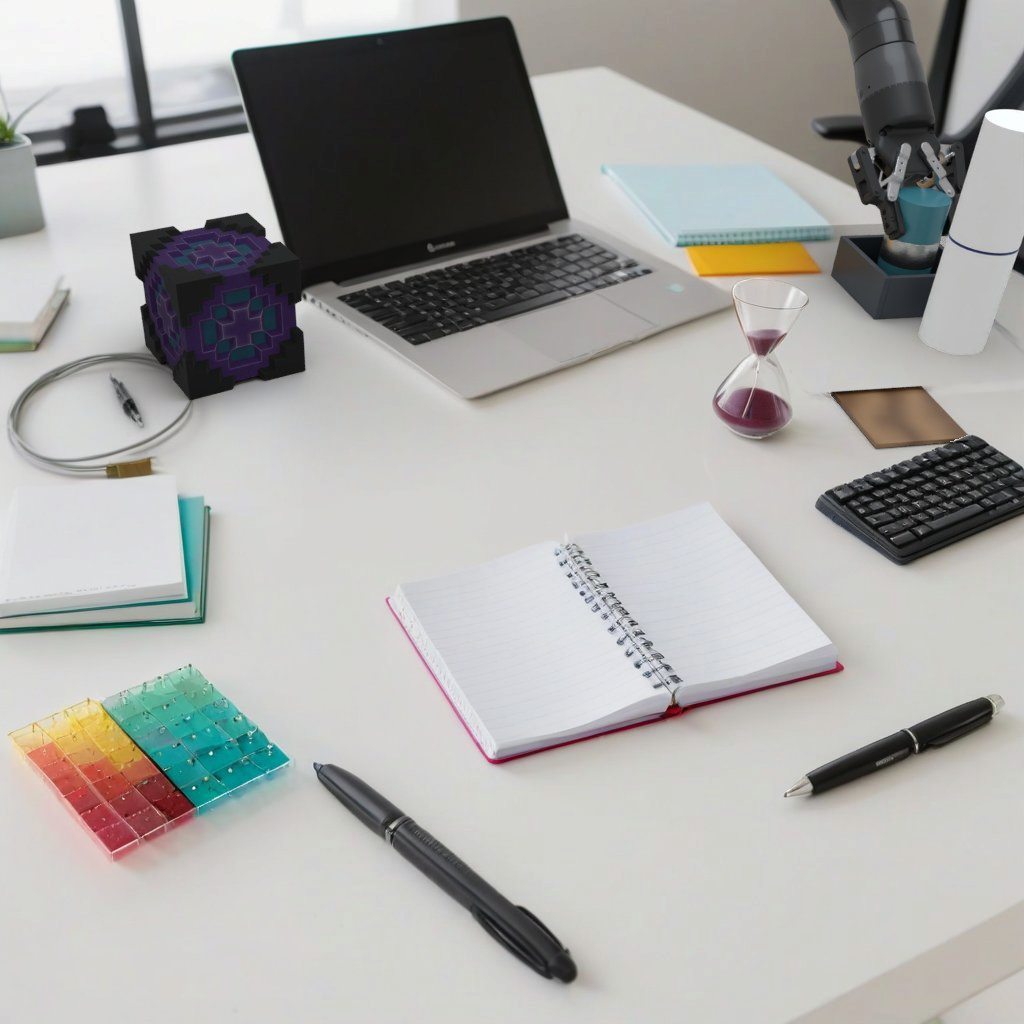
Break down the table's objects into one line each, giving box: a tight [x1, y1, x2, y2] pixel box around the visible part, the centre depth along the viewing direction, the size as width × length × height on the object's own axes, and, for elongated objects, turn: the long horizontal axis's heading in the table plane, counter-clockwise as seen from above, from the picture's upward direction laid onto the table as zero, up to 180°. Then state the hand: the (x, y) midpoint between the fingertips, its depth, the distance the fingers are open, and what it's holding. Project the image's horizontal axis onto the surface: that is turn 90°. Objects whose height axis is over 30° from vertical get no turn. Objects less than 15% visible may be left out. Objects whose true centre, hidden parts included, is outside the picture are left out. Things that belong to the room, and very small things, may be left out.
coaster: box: [830, 385, 969, 449], centre depth 115 cm, size 10×10×1 cm
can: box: [877, 185, 952, 276], centre depth 132 cm, size 6×6×12 cm
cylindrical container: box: [917, 108, 1024, 356], centre depth 120 cm, size 7×7×25 cm
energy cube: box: [129, 212, 306, 401], centre depth 112 cm, size 12×12×12 cm
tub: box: [830, 233, 945, 321], centre depth 134 cm, size 11×11×6 cm
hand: (923, 235), depth 129 cm, fingers closed on can, 6 cm apart
